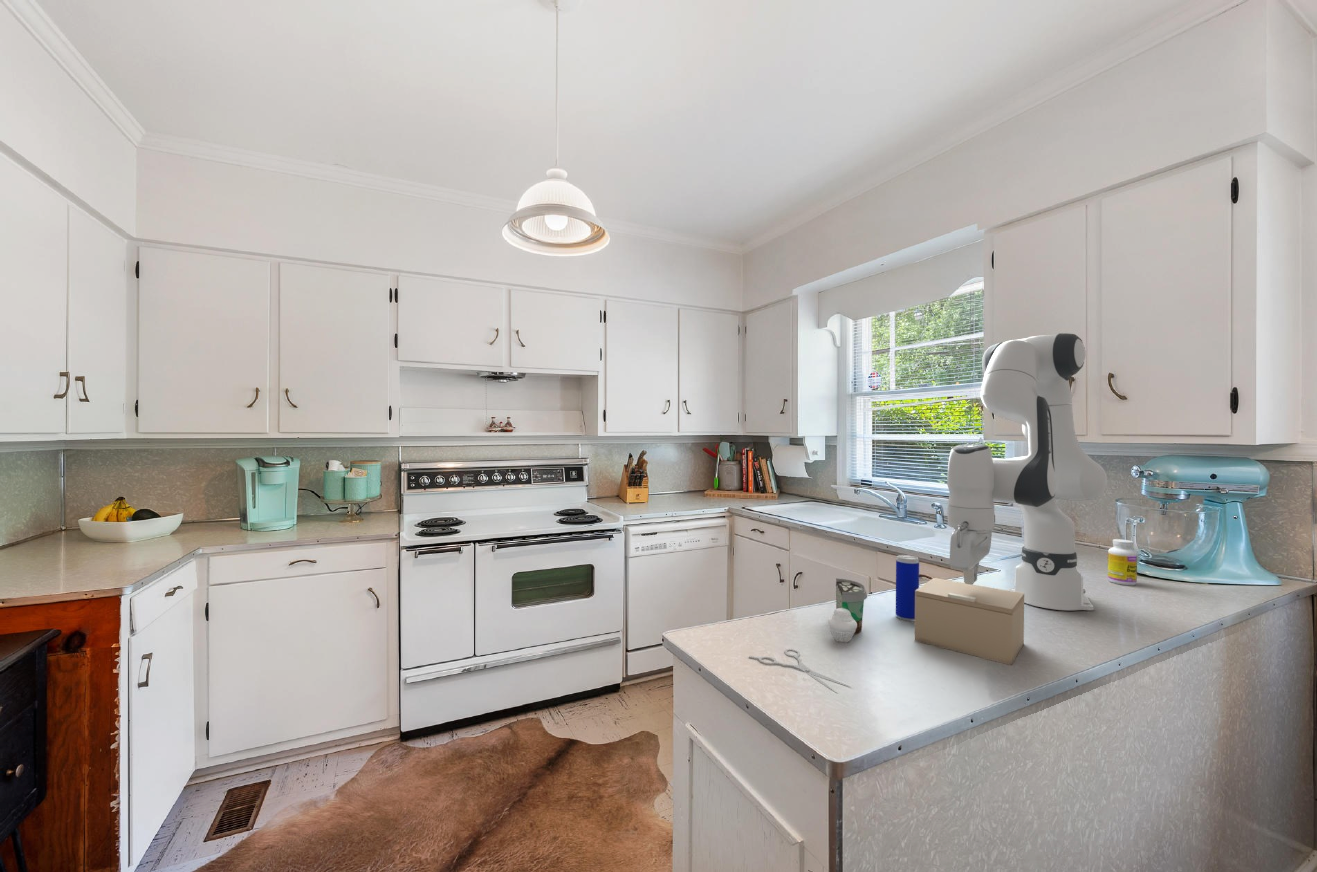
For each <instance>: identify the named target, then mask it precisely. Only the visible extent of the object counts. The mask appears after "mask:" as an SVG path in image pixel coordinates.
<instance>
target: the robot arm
mask: <svg viewBox="0 0 1317 872" xmlns="http://www.w3.org/2000/svg"><path fill="white" fill-rule="evenodd" d="M1086 352H1087V351H1086V348H1085V345H1084V342H1083V340H1082V338H1081V337H1079V336H1078V335H1077V334H1075V333H1067V332H1066V333H1058V334H1049V335H1048V334H1045V335H1035V336H1034V335H1033V336H1028V337H1026V338H1020V339H1012V340H1011V339H1010V340H1007V341H1004V342H998V343H996V344H995V343H994V344H992V345H991V346H988V348H987V349H986V350H984V352H983V355H982V359H981V367H982V371H983V374H984V376H983V379H982V384H981V389H980V399H981V403H983V405H984V407H985V408H986V409H987V410H988V411H989V412H991V413H992V414H993V415H995V416H997V417H999V418H1001V419H1005V420H1007V421H1011V422H1014V423H1018V424H1020V425H1021V429H1022V435H1023V437H1025V439H1026V440H1027V441H1028V442H1027V443H1028V447H1027V448H1028V454H1027V455H1024V456H1015V457H1010V458H998V457H993V454H992V450H991V447H990V446H989V445H987V444H984V443H983V444H982V443H964V444H958V445H956V446H954V447H952V448H951V450H950V453H949V457H948V465H947V479H946V480H947V482H946V483H947V484H946V485H947V488H948V491H949V495H948V496H949V497H948V500H947V503H946V504H947V509H946V510H947V526H948V527H950V528H953V531H952V533H951V535H950V543H949V566H950V568H951V569H952V570H955V571H956V570H957V571H962V574H963V583H966V584H970V585H972V584H973V585H974V584H975V582H977V581H978V571H979V567H980V562H981V560H983V559H984V558H985V557H987V556H988V555H989V554H990V551H991V546H992V535H993V530H994V529H995V523H996V514H995V503H994V502H998V503H999V502H1000V503H1009V504H1010V503H1013V504H1017V505H1018V508H1019V511H1020V513H1021V516H1022V523H1023V546H1022V548H1021V552H1020V553H1021V563H1019V564H1017V566H1015V567H1014V584H1013V585H1014V586H1013V588H1011V589H1009V590H1008V591H1013V592H1019V593H1024V604H1027V605H1030V606H1034V607H1040V608H1044V609H1050V610H1058V611H1094V605H1093V604H1092V602H1091V600H1090V599H1089V598H1088V596H1087V594H1086V590H1085V588H1084V576H1083V575H1082V574H1081V572H1079V571H1078V570H1077V568H1076V567H1077V566H1078V557H1077V556H1078V555H1077V552H1076V548H1075V547H1076V526H1075V523H1074V521H1073V520H1072V518H1071V517H1070V516H1069V515H1066V514H1065V513H1064V512H1063V511H1062V510H1061V509H1060V508H1059V506H1058V504H1057V502H1056V500H1063V501H1072V502H1075V501H1076V502H1077V501H1079V502H1080V501H1092V500H1093V501H1094V500H1097V499H1098V498H1100V497H1101V496H1102V494H1104V492H1105V490H1106V489H1107V486H1108V475H1107V472H1106V471H1105V469H1104V468H1103V466H1102V465H1101V464H1099V463H1098V462H1097V461H1095V460H1093V459H1092V458H1091V457H1090V456H1089V454H1087V452H1085V450H1084V449H1083V448H1082V446H1081V443H1080V442H1079V439H1078V437H1077V435H1076V432H1075V425H1074V416H1073V415H1074V413H1073V399H1072V391H1071V385H1070V380H1071V379H1072V377H1073V376H1074V375H1076V374H1077V373H1078V372H1079V371H1081V369H1082V368H1083V367H1084V364H1085V359H1086V354H1087V353H1086Z"/></svg>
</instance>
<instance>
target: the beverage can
mask: <svg viewBox="0 0 1317 872" xmlns="http://www.w3.org/2000/svg"><path fill="white" fill-rule="evenodd" d="M918 588H920V560H919V558H918V557H917V556H915V555H911V554H910V555H909V554H899V555H897V557H896V559H895V616H896V617H897V618H898V619H899V618H900V619H899V620H902V621H906V620H908V621H909V622H915V621H914V620H915V590H917V589H918Z"/></svg>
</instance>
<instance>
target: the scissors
mask: <svg viewBox="0 0 1317 872" xmlns="http://www.w3.org/2000/svg"><path fill="white" fill-rule="evenodd" d="M783 652H784V654H785V655H786V657H791V658H794V659H795V660H797V662H798V665H797V664H790V663H789V664H788V663H784V662H783V663H782V662H779V661H778V660H777V659H776V658H774V657H772V656H771V657H770V656H760V657H759V656H752V655H749V656H748V659H753V660H757V661H758V662H760V664H763V665H765V666H766V665H768V666H775V665H777V666H781V667H783V668H786V667H788V668H793V669H795V670H798V671H801V672H804V673H805V674H807V675H808V676H810V677H811V678H813V679H814V680H815V681H816V682H818V683H820V684H822V685H823V686H824V687H826V688H827V689H829V690H830V691H832V692H834V693H835V694H838V695H839V693H838V692H837V691H836V690H835V689H833V688H832V687H831V686H830V685H828V684H827V683H826V682H825V681H823V680H822V679H825V680H827V681H830V682H833V683H837V684H841V685H843V686H846V687H849V688H851V686H850V685H847V684H845V683H842V682H840V681H838V680H836V679H834V678H831V677H829V676H826V675H823V674H820V673H819V672H816V671H814V670H812V669H810V667H808V666H807V665H805V664H804V663H802V659H801V658H800V656H801V654H800V653H801V652H800V651H798V650H797V649H794V648H793V649H792V648H786V649H785V650H784V651H783ZM789 652H795V653H797V654H794V655H793V654H790V653H789ZM765 659H766V660H770V661H771V662H770V661H765ZM820 678H822V679H820Z"/></svg>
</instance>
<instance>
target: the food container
mask: <svg viewBox="0 0 1317 872" xmlns="http://www.w3.org/2000/svg"><path fill="white" fill-rule="evenodd" d="M835 590H836V591H835V594H836V595H835V596H836V597H835V605H836V607H835V608H836V609H838V608H843V609H847V610H849V611H850V613H851V616H852V618H853V619H854V620H855V621H856V623H857V628H856V631H855V633H854V635H858V634H860V633H861V632H862V628H863V626H862V625H863V616H864V615H863V614H864V604H865V600H866V599H867V598H868V594H867V590H866V588H865V585H864V584H862V583H860V582H858V581H855V580H851V579H846V578H835ZM836 609H835V610H836Z"/></svg>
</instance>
